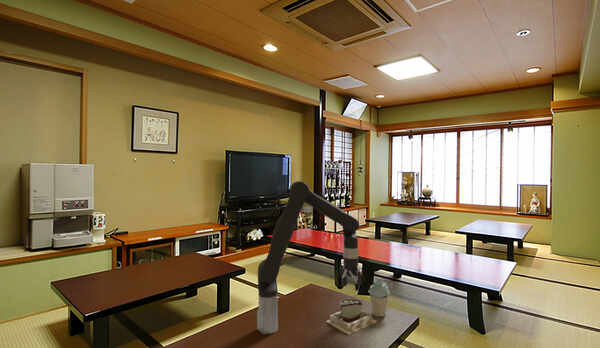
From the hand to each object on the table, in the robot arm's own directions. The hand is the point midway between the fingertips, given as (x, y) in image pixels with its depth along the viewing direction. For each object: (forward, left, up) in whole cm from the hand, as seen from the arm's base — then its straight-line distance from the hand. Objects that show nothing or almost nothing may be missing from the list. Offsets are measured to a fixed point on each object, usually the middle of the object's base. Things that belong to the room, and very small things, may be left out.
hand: (350, 287), depth 159 cm
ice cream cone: (+18, -3, -18) cm, 25 cm away
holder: (0, 0, -18) cm, 18 cm away
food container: (0, +2, -17) cm, 17 cm away
